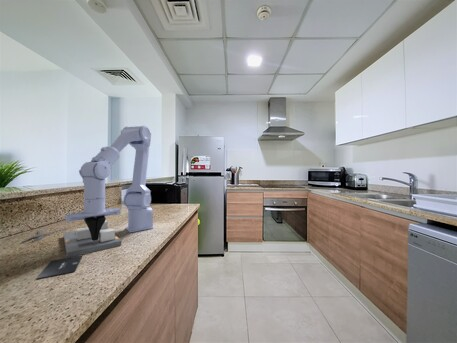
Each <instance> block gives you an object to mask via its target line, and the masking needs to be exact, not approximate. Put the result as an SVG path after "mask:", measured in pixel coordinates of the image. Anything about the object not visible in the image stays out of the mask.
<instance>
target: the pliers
mask: <svg viewBox="0 0 457 343" xmlns="http://www.w3.org/2000/svg"><path fill="white" fill-rule="evenodd" d="M70 227H71V226H70V225H69V226H67V227H64V228H61V229H59V230H58V229H57V230H54V231H51V232H47V233H43V234H42V231H44V230H46V228H47V229H48V227H43V228H41V229H39V230H38V231H37V234H35V235H33V236H31V237H29V238H26V239H24V240H23V241H21V243H22V244H25V243H27V242H29V241H31V243H34V242H35V243H36V242H37V241H40V240H42V239H44V238H45V237H46V236H49V235H51V234H56V233H58V231H59V232H61V231H62V230H63V231H65V230H67V228H68V229H70ZM43 229H44V230H43ZM41 230H42V231H41ZM63 231H62V232H63ZM55 232H56V233H55Z"/></svg>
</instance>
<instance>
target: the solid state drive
mask: <svg viewBox="0 0 457 343" xmlns="http://www.w3.org/2000/svg"><path fill="white" fill-rule="evenodd" d="M82 259H83V255H77V256H73V257H68V258H67V257H66V258H65V257H64V258H58V259H54V260H51V261H49V263H48V264H47V265H46V266H45V268H44V269H43V270H42V271H41V272H40V274H38V276H37V277H36V280H41V279H42V280H43V279H47V278H52V277H57V276H62V275H68V274H73V273H76V270H77V269H78V267H79V264H80V262H81V261H82Z"/></svg>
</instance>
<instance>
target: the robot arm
mask: <svg viewBox="0 0 457 343" xmlns="http://www.w3.org/2000/svg"><path fill="white" fill-rule="evenodd" d="M151 139H152V133H151V130H150V128H148V126H147V125H141V126H140V125H138V126H135V125H134V126H124V127H123V128H122V129H121V130H120V134H119V136H118V137H117V138H116V139H115V140H114V142H113V143H112V144H111V145H110V146H103V147H101V148H100V149H99V150H100V151H99V152H98V153H97V154H96V155H95V156H93V157H91V160H90V161H88V162H87V161H86V162H85V163H83V164H82V165H81V167H80V169H78V173H79V176H80V178H82V183H83V211H80V212H76V213H75V212H74V213H69V214H65V222H66V223H71V222H74V221H82V220H83V221H84V223H85V224H86V227H88V228H89V231H90V234H91V238H92V240H93V241H95V240H98V236H99V233H100V230H101V227H102V225H103V224H104V222H105V220H106V219H107V218H106V217H108V216H114V215H118V216H119V215H121V208H118V207H117V208H116V207H115V208H107V209H106V179H107V178H108V177H109V176H110V174H111V169H112V166H113V165H114V164H115V163H116V161H117V160H119V159H120V152H121V151H123V150H124V149H125V147H126V148H127V146H128V145H130V146H131V147H132V148H134V149H135V154H134V155H135V156H134V165H133V172H132V181H131V185H130V186H128V188H126V192H125V194H124V197H123V204H124V206H125V207H126V209H127V210H128V211H127V215H128V216H127V226H125V227H124V229H125V230H126V231H127V232H129V233H134V232H140V231H145V230H149V229H154V212H153V208H152V207H151V206H150V204H151V203H152V195H151V190H150V189H149V188H148V187H147V186H146V185H147V184H146V183H147V182H146V181H147V176H148V174H147V172H148V164H149V154H150V146H151V141H152V140H151ZM106 221H107V220H106Z"/></svg>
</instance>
